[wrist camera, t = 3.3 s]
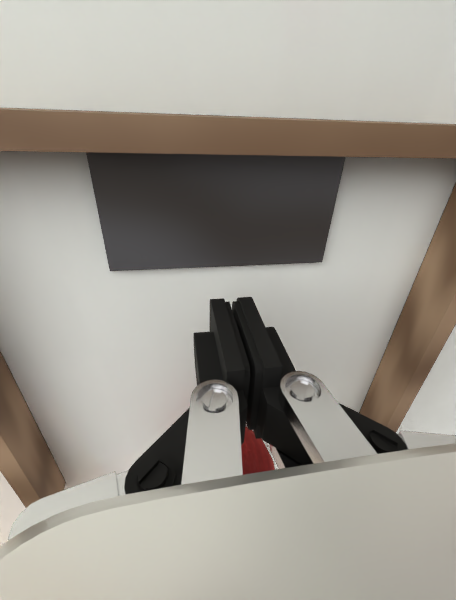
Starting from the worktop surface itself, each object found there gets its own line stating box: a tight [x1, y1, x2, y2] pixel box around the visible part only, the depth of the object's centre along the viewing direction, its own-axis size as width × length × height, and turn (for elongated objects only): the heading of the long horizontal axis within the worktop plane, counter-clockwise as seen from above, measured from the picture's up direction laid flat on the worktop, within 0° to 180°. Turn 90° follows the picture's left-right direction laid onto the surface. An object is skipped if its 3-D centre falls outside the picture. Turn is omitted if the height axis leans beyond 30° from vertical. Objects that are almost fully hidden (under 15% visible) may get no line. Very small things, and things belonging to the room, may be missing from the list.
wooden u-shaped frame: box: [0, 108, 456, 508], centre depth 16 cm, size 23×24×2 cm
